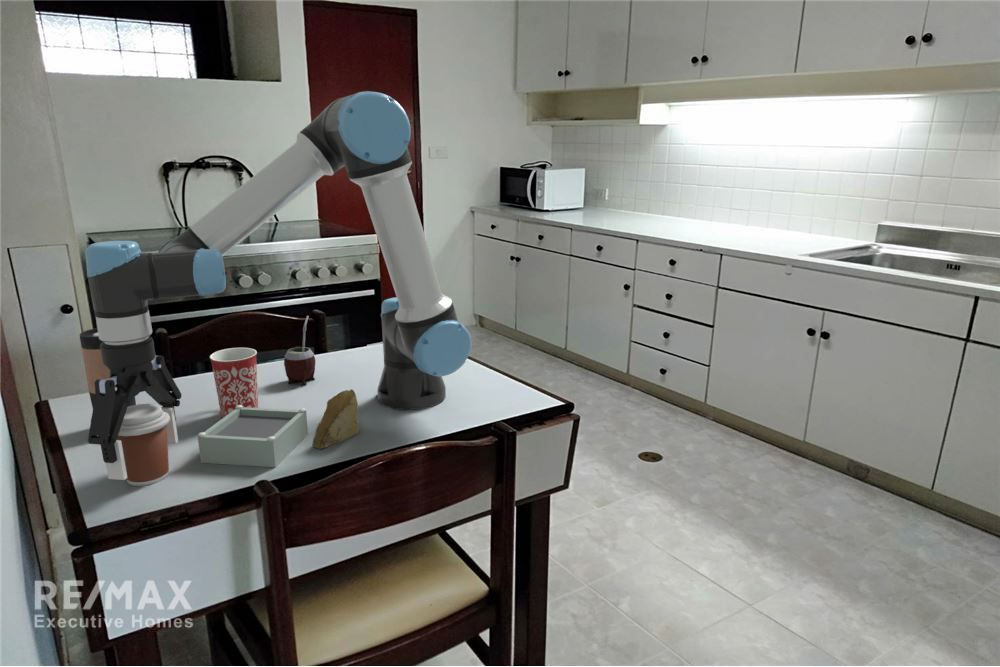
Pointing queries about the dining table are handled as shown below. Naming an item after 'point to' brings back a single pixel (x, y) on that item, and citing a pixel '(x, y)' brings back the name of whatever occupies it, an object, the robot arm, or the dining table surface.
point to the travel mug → (94, 362)
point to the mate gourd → (300, 363)
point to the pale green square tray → (253, 436)
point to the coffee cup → (145, 444)
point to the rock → (337, 420)
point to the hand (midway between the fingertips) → (145, 459)
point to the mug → (235, 378)
